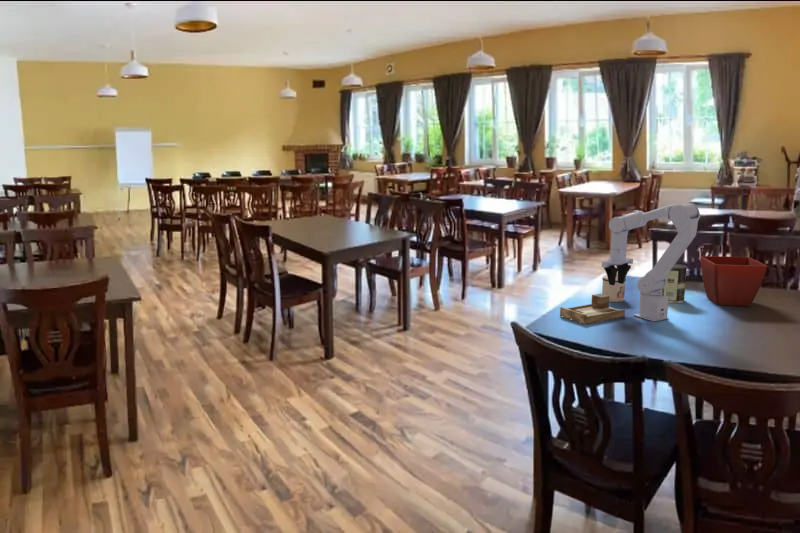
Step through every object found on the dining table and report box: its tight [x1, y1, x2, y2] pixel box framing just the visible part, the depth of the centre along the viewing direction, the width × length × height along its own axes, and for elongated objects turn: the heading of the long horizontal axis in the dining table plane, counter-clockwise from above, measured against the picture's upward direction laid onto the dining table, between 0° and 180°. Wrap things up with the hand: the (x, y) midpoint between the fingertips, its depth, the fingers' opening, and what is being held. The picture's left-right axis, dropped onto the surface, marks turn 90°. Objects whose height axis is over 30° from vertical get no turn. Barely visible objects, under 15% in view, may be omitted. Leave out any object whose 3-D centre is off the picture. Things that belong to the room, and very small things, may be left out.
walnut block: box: [590, 292, 610, 309], centre depth 261 cm, size 4×4×4 cm
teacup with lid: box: [601, 273, 627, 303], centre depth 281 cm, size 12×9×12 cm
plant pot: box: [699, 255, 768, 307], centre depth 275 cm, size 19×19×17 cm
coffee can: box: [661, 263, 688, 304], centre depth 279 cm, size 10×10×14 cm
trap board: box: [559, 303, 626, 325], centre depth 255 cm, size 12×20×4 cm, turn 121°
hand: (616, 284), depth 264 cm, fingers open, 4 cm apart
